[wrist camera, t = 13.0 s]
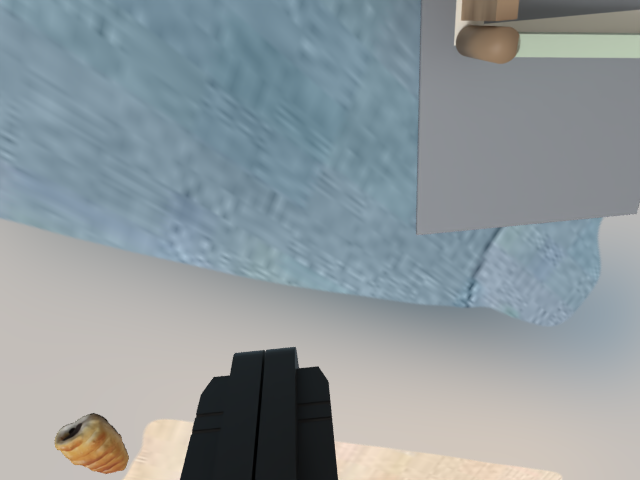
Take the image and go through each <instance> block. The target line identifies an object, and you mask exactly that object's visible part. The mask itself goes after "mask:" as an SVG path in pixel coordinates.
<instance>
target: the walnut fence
mask: <svg viewBox="0 0 640 480" xmlns="http://www.w3.org/2000/svg"><path fill="white" fill-rule="evenodd" d="M518 7H519V0H462V11H461V21H503V20H514V19H517V16H518Z"/></svg>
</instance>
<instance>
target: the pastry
mask: <svg viewBox="0 0 640 480" xmlns="http://www.w3.org/2000/svg"><path fill="white" fill-rule="evenodd" d="M55 447H56V448H57V450H61V452H62V453H63V454H64V455H65V456H66V458H68V459H70V461H71V462H72V463H73V464H74V465H83V466H85V467H87V468H89V469H91V470H92V471H97V472H101V473H105V474H107V473H112V472H116V471H122V470H124V469H125V468H126V465H127V462H128V459H129V456H128V453H127V451H126V448H125V445H124V444H123V442H122V437H121V435H120V434H118V432H117V431H116V429H115V428H114V427H113V426H112V425H110V424H109V423H108V421H107V419H105V418H104V417H103V416H101V415H98V414H95V413H91V414H89V415H86V416H83V417H82V418H80V419H79V420H77V421H76V422H75V423H71V424H68V425H66V426H63V427H62V428H61V429H60V430H59V432H58V433H57V436H56V438H55Z"/></svg>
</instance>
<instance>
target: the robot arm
mask: <svg viewBox="0 0 640 480" xmlns="http://www.w3.org/2000/svg"><path fill="white" fill-rule="evenodd" d="M196 415H197V416H196V418H195V421H194V425H193V429H192V435H191V437H190V441H189V446H188V450H187V454H186V458H185V462H184V466H183V470H182V474H181V478H180V480H338V475H337V465H336V454H335V444H334V435H333V423H332V413H331V403H330V394H329V382H328V380H327V379H326V377H325V376H324V374H323V373H322V371H321V370H320V368H319V367H309V368H299V365H298V358H297V351H296V347H290V348H280V349H270V350H266V352H265V350H262V351H252V352H241V353H235V354H234V357H233V361H232V367H231V373H230V376H221V377H214V378H213V379H212V380H211V382H210V383H209V384H208V386H207V387H206V389H205V390H204V391H203V393H202V394H201V397H200V401H199V405H198V409H197V413H196Z"/></svg>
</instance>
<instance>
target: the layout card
mask: <svg viewBox="0 0 640 480" xmlns="http://www.w3.org/2000/svg"><path fill="white" fill-rule="evenodd" d="M461 11H462V0H421V27H420V73H419V118H418V163H417V208H416V234H417V235H423V234H434V233H444V232H454V231H465V230H475V229H485V228H496V227H506V226H516V225H527V224H537V223H547V222H557V221H568V220H578V219H588V218H599V217H609V216H619V215H628V214H629V215H630V214H636V213H637V210H638V206H639V203H640V58H563V57H514V58H513V59H512V60H511V61H509V62H507V63H504V64H497V63H493V62H488V61H484V60H479V59H475V58H470V57H466V56H463V55H461V54H460V53H459V52H458V51H457V48H456V38H457V36H458V34H459V32H460V31H461V30H462V29H463V28H465V27H467V26H470V25H479V26H505V27H512V28H514V29H515V30H517V32H594V33H640V0H519V7H518V16H517V19H514V20H503V21H461Z"/></svg>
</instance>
